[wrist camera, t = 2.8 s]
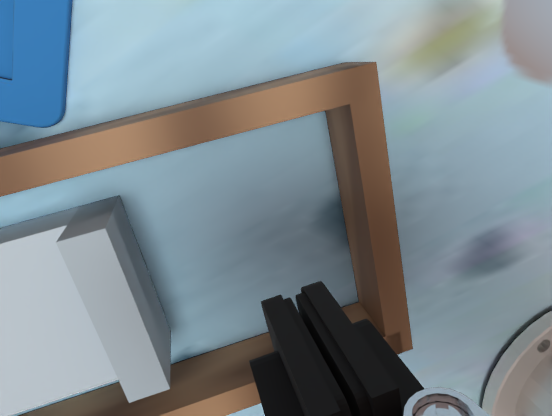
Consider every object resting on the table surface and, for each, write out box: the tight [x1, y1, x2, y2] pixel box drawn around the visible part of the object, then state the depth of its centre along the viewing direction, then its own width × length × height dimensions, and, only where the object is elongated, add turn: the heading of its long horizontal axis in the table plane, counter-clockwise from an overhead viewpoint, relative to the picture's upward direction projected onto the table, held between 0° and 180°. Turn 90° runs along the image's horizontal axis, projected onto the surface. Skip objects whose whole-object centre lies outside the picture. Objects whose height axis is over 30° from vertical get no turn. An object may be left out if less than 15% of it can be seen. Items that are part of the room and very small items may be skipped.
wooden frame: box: [0, 62, 413, 416], centre depth 17 cm, size 26×13×4 cm, turn 103°
